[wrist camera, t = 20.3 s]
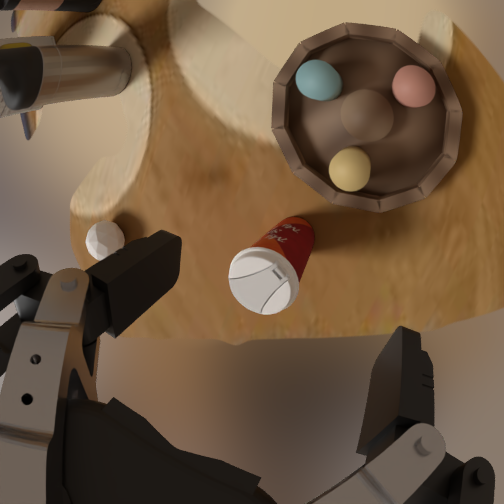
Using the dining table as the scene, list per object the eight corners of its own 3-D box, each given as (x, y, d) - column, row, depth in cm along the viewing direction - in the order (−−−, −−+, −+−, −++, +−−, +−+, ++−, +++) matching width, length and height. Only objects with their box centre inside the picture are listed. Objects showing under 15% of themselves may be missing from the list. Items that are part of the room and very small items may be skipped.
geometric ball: (133, 236, 59) (119, 272, 56) (99, 226, 58) (85, 260, 55) (128, 219, 52) (112, 258, 49) (91, 208, 51) (74, 245, 48)
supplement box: (65, 76, 46) (-7, 86, 31) (41, 110, 52) (-22, 125, 38) (54, 34, 42) (-12, 38, 28) (30, 69, 49) (-29, 79, 35)
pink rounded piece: (384, 91, 29) (385, 87, 25) (404, 64, 26) (408, 56, 22) (414, 115, 29) (420, 115, 24) (434, 89, 26) (443, 85, 22)
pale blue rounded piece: (299, 88, 32) (287, 84, 28) (319, 60, 30) (310, 52, 26) (329, 108, 32) (322, 107, 28) (350, 80, 30) (346, 75, 26)
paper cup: (297, 197, 40) (258, 237, 28) (333, 241, 40) (311, 298, 29) (258, 230, 44) (210, 277, 33) (292, 270, 45) (257, 328, 33)
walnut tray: (249, 133, 38) (240, 135, 36) (338, 1, 26) (335, -7, 24) (382, 236, 37) (382, 246, 35) (485, 111, 25) (493, 112, 22)
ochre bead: (340, 141, 34) (335, 144, 29) (375, 153, 32) (375, 158, 28) (330, 174, 36) (324, 183, 32) (364, 186, 35) (362, 197, 31)
